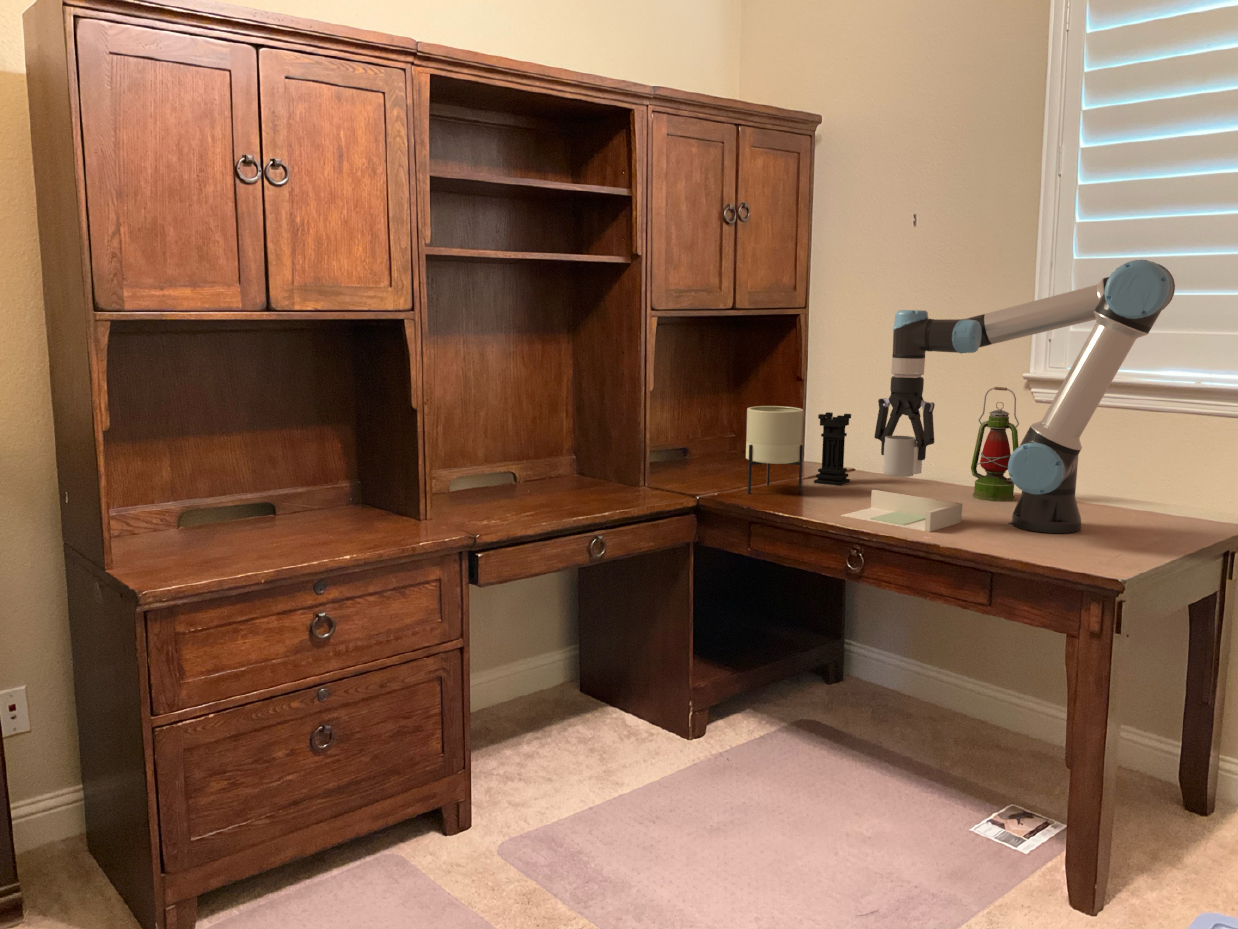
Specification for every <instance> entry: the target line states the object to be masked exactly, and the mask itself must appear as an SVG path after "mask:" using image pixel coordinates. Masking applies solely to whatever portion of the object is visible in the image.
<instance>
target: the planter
mask: <svg viewBox="0 0 1238 929" xmlns="http://www.w3.org/2000/svg"><path fill="white" fill-rule="evenodd" d="M803 424H804V409H803V408H801V407H796V406H795V407H793V406H786V405H785V406H784V405H783V406H781V405H780V406H779V405H759V406H758V405H757V406H750V407H747V409H746V441H745V442H746V444H745V459H746V460H748V470H747V471H748V474H747V476H748V477H747V494H749V495H750V494H752V466H757V465H765V464H767V465H766V486H767V485H769V486H770V474H771V472H770V470H771V467H770V466H771V464H772V465H773V464H774V465H775V464H778V465H779V464H780V465H782V464H785V465H793V466H798V467H799V468H798V470H799V471H798V489H797V490H798V491H797V494H798V495H802V483H803V482H802V481H803V480H802V478H803V477H802V476H803V454H804V453H803V452H804V449H803V448H804V446H803V428H804V427H803Z"/></svg>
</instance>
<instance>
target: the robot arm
mask: <svg viewBox="0 0 1238 929" xmlns="http://www.w3.org/2000/svg"><path fill="white" fill-rule="evenodd" d="M1175 291H1176V284H1175V279H1174V277H1173V275H1172V273H1171V271H1169V270H1168V269H1167V268H1166V267H1165V266H1163V265H1161V264H1159V263H1156V262H1154V261H1151V260H1147V259H1134V260H1130V261H1127V262H1125V263H1123V264H1122V265H1120V266H1119V267H1117V268H1116V269H1115V270H1114V271H1113V272H1111V274H1110V275H1109V276H1107V277H1103V278H1102V279H1101V280H1100V281H1099V283H1097V284H1094V285H1090V286H1087V287H1082V288H1079V289H1075V290H1071V291H1068V292H1067V291H1066V292H1063V293H1061V294H1056V295H1051V296H1047V297H1043V298H1040V299H1037V300H1032V301H1029V302H1025V303H1021V304H1017V305H1013V306H1010V307H1006V308H1003V309H999V310H995V311H991V312H986V313H983V314H979V315H975V316H971V317H966V318H959V319H958V318H957V319H956V318H955V319H946V318H945V319H942V318H941V319H935V318H929V314H928V311H927V310H921V309H919V310H917V309H916V310H915V309H900V310H898V311H897V312H896V313H895V315H894V323H893V329H892V331H893V334H892V335H893V336H892V354H891V355H892V358H891V368H890V369H891V370H890V371H891V372H890V373H891V374H892V375H893V376H891V377H890V395H889V397H884V398H879V399H878V412H877V419H876V424H875V431H874V435H873V436H874V439H876V440H879V441H880V442H881V445H880V446H881V449H880V450H881V451H880V454H881V456H884V451H885V437H886V436H894V432H895V430H896V428H897V425H898V423H899V421H900V418H901V417H902V416H903V415H904V416H908V417H907V418H908V419H909V420H910V423H911V427H912V430H913V433H914V437H915V438H916V442H917V445H916V447H914V459H913V474H914V475H919V474H922V468H923V466H922V465H923V461H925V460H926V453H927V447H928V446H930V445H934V444H935V430H934V429H935V428H934V409H935V403H934V402H928V401H925V400H924V398H923V393H924V387H925V386H924V384H925V382H924V380H925V378H924V377H923V376H924V375H925V366H926V364H925V363H926V352H939V353H941V352H942V353H958V354H971V353H972V354H973V353H976V352H978V351H979V348H983V347H987V346H991V345H996V344H999V343H1005V342H1008V341H1011V340H1015V339H1020V338H1023V337H1029V336H1033V335H1036V334H1037V335H1038V334H1040V333H1045V332H1049V331H1053V330H1057V329H1061V328H1066V327H1070V326H1075V325H1079V324H1083V323H1087V322H1091V321H1095V320H1096V322H1095V324H1094V325H1093V328H1092V329H1091V331H1090V334H1089V335H1088V336H1087V338H1086V340H1085V342H1084V343H1083V346H1082V347H1081V350H1080V351H1079V353H1078V355H1077V357H1076V359H1075V360H1074V362H1073V363H1072V366H1071V367H1070V369H1069V371H1068V373H1067V374H1066V377H1065V378H1064V380H1063V382H1062V383H1061V385H1060V387H1059V389H1058V391H1057V392H1056V394H1055V396H1054V398H1053V399H1052V401H1051V403H1050V405H1049V407H1048V408H1047V410H1046V412H1045V414H1044V416H1043V418H1042V420H1040V421H1038V422H1034V423H1032V424H1031V425H1030V426H1029V428H1028V430H1027V431H1026V434H1025V435H1024V437H1023V438H1022V441H1021V442H1020V444H1019V445H1018V446H1019V447H1018V448H1017V449H1015V451H1013V450H1012V453H1011V456H1010V459H1009V463H1008V470H1007V471H1008V475H1009V478H1011V480H1012V481H1013V483H1014V486H1016V487H1017V488H1018V489H1019V490H1021V493H1020V496H1019V499H1018V501H1017V503H1016V505H1015V508H1014V510H1013V512H1012V515H1011V516H1012V517H1011V525H1012V526H1014V527H1016V528H1019V529H1022V530H1026V531H1031V532H1040V533H1048V534H1070V532H1072V533H1076V532H1075V531H1077V532H1079V531H1078V530H1080V529H1082V517H1081V514H1080V511H1079V507H1078V506H1079V505H1078V502H1077V499H1076V488H1077V478H1078V477H1077V476H1078V466H1079V465H1078V463H1079V455H1080V452H1081V451H1082V450H1083V446H1082V444H1081V441H1080V438H1081V436H1082V434H1083V432H1084V431H1085V430H1086V427H1087V425H1088V423H1089V422H1090V420H1091V418H1092V417H1093V415H1094V414H1095V411H1097V410H1096V409H1097V408H1098V407H1099V404H1100V403H1101V401H1102V399H1103V397H1105V394H1106V392H1107V390H1108V389H1109V387H1110V385H1111V384H1112V382H1113V381H1114V379H1115V377H1116V375H1117V373H1118V372H1119V370H1120V369H1121V366H1122V364H1123V363H1124V361H1125V359H1126V357H1127V356H1128V354H1129V352H1130V351H1131V349H1132V347H1133V346H1134V344H1135V342H1136V340H1137V339H1139V338H1142V337H1144V336H1148V335H1149V333H1150V332H1151V329H1152V328H1153V326H1154V325H1155V323H1156V321H1157V320H1158V318H1159V316H1160V314H1161V312H1163V311H1164V309H1166V308H1167V306H1168V305H1169V304H1171V301H1172V300H1173V298H1174V295H1175ZM890 405H891V407H892V410H891V411H890V414H889V410H890V409H889V408H890ZM920 409H921V410H922V416H921V413H920V412H921V411H920ZM888 415H890V416H889V419H888ZM921 417H922V420H921ZM922 422H923V424H922ZM882 463H883V466H882V470H883V471H884V460H883V462H882ZM1080 531H1081V530H1080Z"/></svg>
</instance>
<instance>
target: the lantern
mask: <svg viewBox="0 0 1238 929" xmlns="http://www.w3.org/2000/svg"><path fill="white" fill-rule="evenodd" d="M992 390H995V391H1008V392H1010V393H1012V395H1013V398H1014V399H1013V400H1014V405H1013V406H1014V407H1013V411H1014V412H1013V416H1014V419H1015V421H1016V423H1017V424H1016V425H1015V424H1014V423H1011V422H1010V413H1009V412H1007V411H1006V410H1003V409H1004V403H1003V401H1001V402H999V401H997V402H995V403H996V405H995V407H996V410H993V411H990V412H988V414H989V416H988V420H985V421H983V422H982V421H981V419H982V417H983V416H984V414H985V410H986V409H985V408H986V401H987V395H988V394H989V392H991V391H992ZM1015 394H1016V393H1015V392H1014V391H1012V390H1011V389H1009V388H1007V387H1002V386H994V387H992V388H989V389H988V390H987V391H986V392H985V395H984V401H983V407H982V408H983V409H982V413H981V415H980V416H979V419H978V422H979V424H980V425H979V427H978V433H977V436H976V441H975V447H974V451H973V456H972V459H971V466H970V469H971V470H970V471H971V474H972V475H971V476H973V477H974V478H976V480H975V481H974V489H973V490H974V493H973V494H972V497H973V498H974V499H977V500H980V501H986V502H987V501H988V502H999V503H1000V502H1002V503H1003V502H1004V503H1005V502H1012V501H1014V500H1015V495H1014V491H1015V484H1014V483H1013V481H1012V480H1011V478H1010V477H1008V478H1007V477H1006V476H1004V475H1005V473H1006V471H1008V463H1009V459H1010V456H1011V454H1012V453H1011V446H1010V441H1009V438H1008V435H1007V429H1010V430H1011V441H1012V452H1013V451H1015V449H1017V448H1018V447H1019V446H1020V445H1019V435H1018V429H1017V428H1018V427H1019V425H1020V422H1019V419H1018V418H1017V415H1016V414H1017V410H1016V409H1017V406H1016V405H1017V397H1016V395H1015ZM998 404H1002V407H1001V408H999V407H998ZM986 428H989V429H990V430H989V432H988V434H987V437H986V439H985V442H984V444H983V449H982V451H981V448H982V443H983V438H984V434H985V429H986ZM980 456H981V457H980ZM979 458H980V461H979ZM978 462H979V463H978ZM978 465H980V467H981V468H982V469H983V470H984V472H985V473H986V475H983V474H981V473H979V472H978V470H977V469H978Z"/></svg>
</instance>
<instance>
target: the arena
mask: <svg viewBox="0 0 1238 929" xmlns="http://www.w3.org/2000/svg"><path fill="white" fill-rule="evenodd" d="M870 496H871V497H870V507H868V508H864V509H860V510H856V511H853V512H849V513H844V514H841V515H840V517H846V518H851V519H858V520H862V521H868V522H873V523H879V524H884V525H889V526H896V527H899V528H904V529H905V528H906V529H912V530H917V531H923V532H926V533H927V532H928V533H931V532H935V531H937V530H941V529H944V528H947V527H950V526H951V527H952V526H954V525H957V524H960V523H962V516H963V513H962V512H963V503H961V502H960V503H959V502H953V501H948V500H941V499H935V498H929V497H922V496H915V495H909V494H902V493H897V492H891V491H885V490H878V489H871V495H870ZM895 511H898V512H904V513H910V514H915V515H921V516H926V518H925V520H921V521H918V522H914V523H911V524H907V525H898V524H893V523H887V522H882V521H876V520H871V519H870V518H873V517H877V516H880V515H884V514H888V513H892V512H895Z"/></svg>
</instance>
